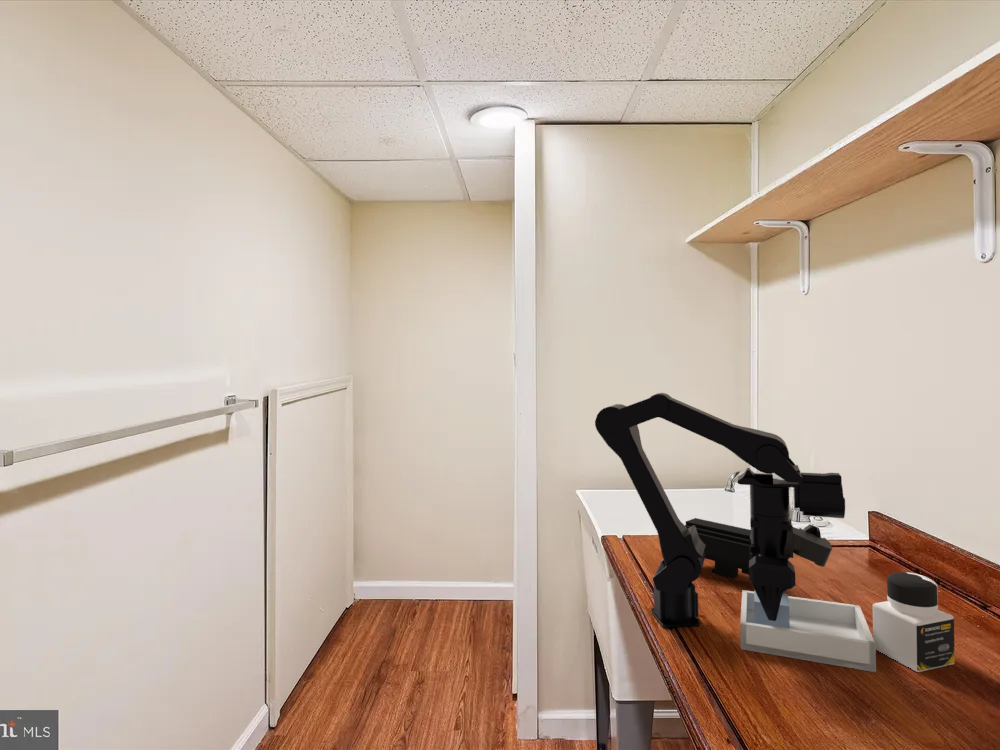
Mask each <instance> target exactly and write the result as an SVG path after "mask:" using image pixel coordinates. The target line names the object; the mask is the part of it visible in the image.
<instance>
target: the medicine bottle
mask: <svg viewBox="0 0 1000 750" xmlns="http://www.w3.org/2000/svg"><path fill="white" fill-rule="evenodd" d="M886 582H887V583H886V588H887V590H886V591H887V593H886V597H887V600H885V601H881V602H880V601H879V602H875V603H873V604H872V637H873V639H874V642H875V644H876V650H877V651H876V652H878V651H879V652H878V653H880V652H881V653H880V654H882V653H883V654H882V655H884V654H885V655H884V656H886V655H887V656H886V657H888V658H890V659H891V660H893V659H894V661H895V660H896V661H895V662H897V661H898V663H899V664H901V665H903V666H905V667H907V668H908V667H909V668H908V669H910V668H911V669H910V670H912V671H915V672H916V673H922V672H927V671H930V670H935V669H939V668H944V667H947V666H948V665H949V666H952V665H954V664H956V662H955V660H956V659H955V652H956V651H955V617H954V616H953V615H951V614H949V613H947V612H944V611H941V610H940V609H939V598H938V597H939V593H938V592H939V590H938V588H939V587H938V584H937V583H936V582H935V581H934V580H933V579H931V578H929V577H928V576H925V575H921V574H918V573H915V572H907V571H898V572H893V573H890V574H889V575H887V578H886Z"/></svg>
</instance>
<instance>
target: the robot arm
mask: <svg viewBox="0 0 1000 750" xmlns="http://www.w3.org/2000/svg"><path fill="white" fill-rule="evenodd" d="M656 418H661V419H663V420H664V421H667V422H669V423H672V424H674V425H676V426H678V427H681V428H682V429H685V430H687V431H688V432H691V433H693V434H696V435H697V436H701V437H703V438H705V439H707V440H709V441H712V442H713V443H716V444H718V445H720V446H723V447H724V448H726V449H727V450H729V451H730V452H731V453H733V454H734V455H735V456H736V457H738V458H739V459H740V460H742V461H743V462H745V463H746V464H748V465H749V466H751V467H753V468H754V469H756V470H757V471H758V472H759V473H758V472H757V473H756V472H754V471H753V470H751V468H750V467H747V468H746V469H745V471H744V472H743V473H741V474H740V475H739V476H738V477H737V484H738V485H741V486H742V485H745V486H749V496H750V497H749V501H750V503H749V505H750V506H749V508H750V509H749V510H750V514H749V515H750V519H749V520H750V530H751V534H750V549H751V556H752V559H751V560H750V561H749V575H748V581H750V584H751V586H752V588H753V589H754V590H755V592H756V594H757V596H758V598H759V600H760V602H761V605H762V607H763V609H764V611H765V613H766V616H767V618H768V620H771V621H776V619H777V615H778V611H779V606H780V602H781V598H782V594H783V593H785V592H786V591H788V590H791V589H793V588H795V587H796V585H797V584H796V570H795V565H794V564H793V563H792V562H791V561H790V560H789V559H794V554H795V556H798V557H801V558H802V559H806V560H808V561H811V562H812V563H814V564H815V565H817V566H819V567H823V568H824V567H826V564H827V562H828V560H829V557H830V555H831V553H832V550H833V547H832V545H831V542H830V541H829V540H827V538H825V537H822V535H821V530H820V527H818V526H815V525H813V524H808V525H806V526H805V527H804V528H801V527H799V528H798V527H794V526H793V523H792V518H791V517H790V510H791V509H790V488H793V506H794V509H798V510H799V512H800V513H801V515H802V516H809V517H820V518H834V519H845V515H846V498H845V497H844V490H843V489H844V488H843V483H842V480H843V479H842V475H841V474H840V473H839V472H826V473H820V472H819V473H818V472H801V470H800V467H799V464H795V462H794V461H793V460H792V459H791V458H790V452H789V449H788V445H787V443H786V441H784V439H783V438H782V437H781V436H778V434H775V433H772V432H768V431H764V430H759V429H756V428H750V427H746V426H742V425H741V426H740V425H738V424H733V423H732V422H729V421H726V420H725V419H722V418H720V417H717V416H715V415H713V414H711V413H709V412H706V411H704V410H701V409H698V408H696V407H695V406H691V405H690V404H687V403H686V402H683V401H680V400H678V399H676V398H674V397H672V396H671V395H669V394H668V393H665V392H658V393H655V394H653V395H651V396H650V397H648V398H646V399H643V400H640V401H638V402H635V403H633V404H629V405H625V404H620V403H616V404H612V405H608V406H606V407H603V408H602V409H600V411H598V413H597V415H596V417H595V420H594V425H595V426H594V427H595V429H596V431H597V433H598V434H599V435H600V437H601V438H602V440H603V441H604V442H605V443H606V445H607V446H608V447H609V449H611V450H612V451H613V453H615V454H616V456H617V457H619V459H620V461H621V462H622V465H623V466H624V469H625V470H626V472H627V474H628V476H629V478H630V480H631V482H632V484H633V486H634V488H635V490H636V492H637V495H638V496H639V498H640V500H641V502H642V504H643V506H644V508H645V510H646V512H647V514H648V516H649V518H650V520H651V522H652V524H653V526H654V528H655V530H656V532H657V536H658V542H659V546H660V547H659V548H660V552H661V556H662V560H660V563H659V565H658V567H657V568H656V571H655V573H654V575H653V577H652V582H653V607H652V608H650V612H651V613H652V615H653V616H654V617H655V618H656V620H657V621H658V622H659V624H660V625H661V626H662V628H677V627H678V628H679V627H692V626H693V627H694V626H700V625H701V621H700V620H699V619H698V618H699V593H697V591H696V585H695V584H694V583H693V582H695V581H696V580H697V579H698V578H700V576H701V574H702V571H703V566H704V562H705V560H706V559H705V553H704V550H705V546H706V545H705V544H704V543H703V542H702V541H701V539H700V538H699V536H698V533H697V530H696V527H695V525H693V526H691V527H690V528H687V527H686V526H685V525H686V524H684V523H683V522H682V521H681V520H680V518H679V517H678V515H677V513H676V510H675V509H674V507H673V505H672V503H671V501H670V499H669V497H668V494H667V493H666V491H665V490H664V488H663V486H662V484H661V481H660V480H659V478H658V475H657V473H656V472H655V470H654V468H653V465H652V464H651V462H650V460H649V458H648V457H647V454H646V452H645V450H644V448H643V445H642V440H641V435H640V430H639V427H638V425H641V424H642V423H645V422H648V421H651V420H653V419H656ZM774 474H775V475H776V476H777V477H779V478H781V479H779V478H774Z"/></svg>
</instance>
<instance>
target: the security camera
mask: <svg viewBox="0 0 1000 750" xmlns="http://www.w3.org/2000/svg"><path fill="white" fill-rule="evenodd" d="M684 525H685V526H686V527H687V528H690V527H691V526H693V525H695V527H696V530H697V533H698V536H699V538H700V539H701V541H702V542H703V543H704V544H705V545H706V546H705V550H704V553H705V560H710V561H714V568H712V569H711V574H713V575H716V576H719V577H723V578H727V579H730V580H734V579H736V578H738V577H739V570H741V574H744V575H747V576H749V561H750V560H751V559H752V556H751V549H750V534H751V529H749V528H744V527H738V526H734V525H730V524H725V523H721V522H716V521H711V520H706V519H702V518H696V517H695V518H691V519H689V520H686V521H685V524H684Z"/></svg>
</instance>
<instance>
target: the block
mask: <svg viewBox="0 0 1000 750" xmlns="http://www.w3.org/2000/svg"><path fill="white" fill-rule="evenodd" d="M753 592H754V621H755V624H762V625H768V626H775V627H781V628H788V629H790V619H789V600H788V596H789V595H788V593H785V592H783V594H782V598H781V602H780V606H779V611H778V615H777V619H776V621H771V620H768V618H767V616H766V613H765V611H764V609H763V607H762V605H761V602H760V600H759V598H758V596H757V594H756V592H755V590H754V591H753Z"/></svg>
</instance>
